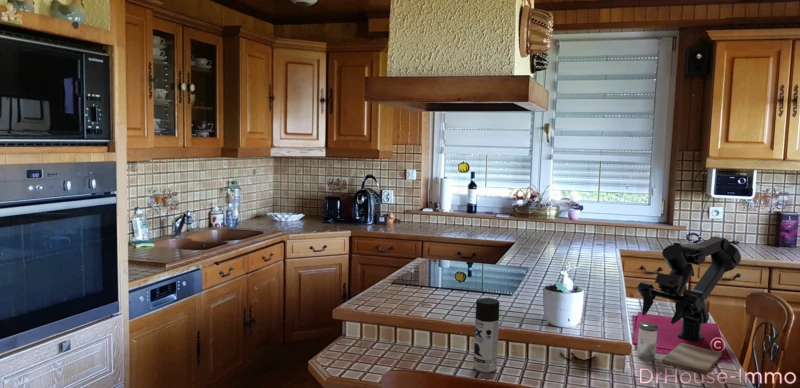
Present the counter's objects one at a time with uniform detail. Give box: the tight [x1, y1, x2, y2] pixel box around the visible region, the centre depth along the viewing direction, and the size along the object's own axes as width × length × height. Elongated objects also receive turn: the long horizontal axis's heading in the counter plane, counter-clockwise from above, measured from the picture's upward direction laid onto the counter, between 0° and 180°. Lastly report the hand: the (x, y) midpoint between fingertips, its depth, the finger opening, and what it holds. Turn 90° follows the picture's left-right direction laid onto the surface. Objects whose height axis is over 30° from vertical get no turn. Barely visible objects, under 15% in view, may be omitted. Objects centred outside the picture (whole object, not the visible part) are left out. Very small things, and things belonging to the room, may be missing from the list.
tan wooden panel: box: [661, 342, 723, 375], centre depth 184 cm, size 18×12×1 cm, turn 139°
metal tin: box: [636, 321, 659, 361], centre depth 184 cm, size 5×5×10 cm
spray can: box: [472, 297, 500, 374], centre depth 173 cm, size 7×7×20 cm
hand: (657, 319), depth 186 cm, fingers open, 9 cm apart
